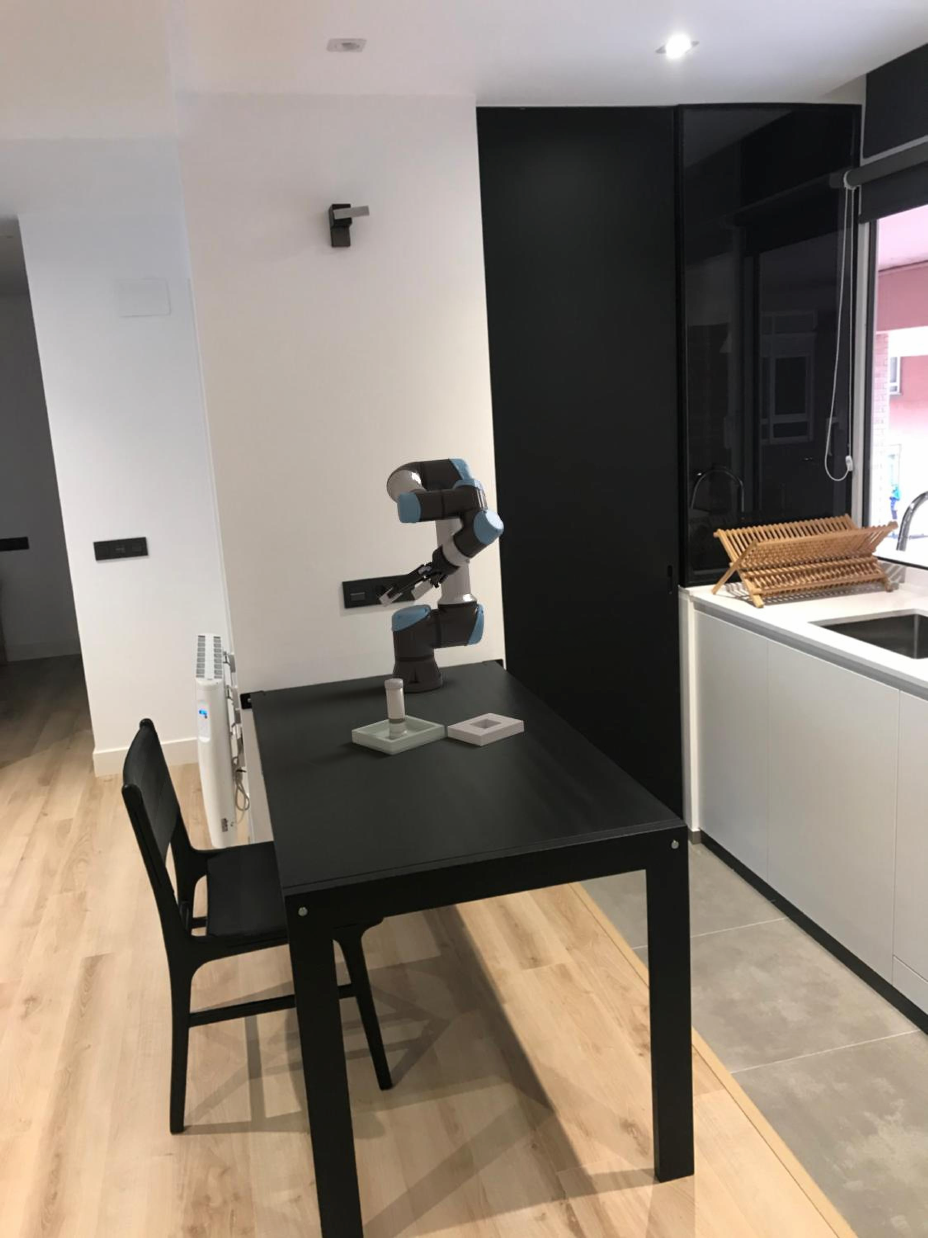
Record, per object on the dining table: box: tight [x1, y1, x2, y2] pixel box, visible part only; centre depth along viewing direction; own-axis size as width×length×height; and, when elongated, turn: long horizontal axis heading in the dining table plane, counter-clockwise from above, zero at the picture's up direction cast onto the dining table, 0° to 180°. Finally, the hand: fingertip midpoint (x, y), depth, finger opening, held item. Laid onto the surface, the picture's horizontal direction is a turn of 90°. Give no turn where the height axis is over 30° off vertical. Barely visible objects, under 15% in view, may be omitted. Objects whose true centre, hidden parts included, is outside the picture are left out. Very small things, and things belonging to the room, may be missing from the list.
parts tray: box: [351, 714, 446, 756], centre depth 244 cm, size 16×16×3 cm
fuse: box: [384, 678, 407, 739], centre depth 242 cm, size 4×4×14 cm
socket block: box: [446, 712, 525, 747], centre depth 243 cm, size 14×12×2 cm
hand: (398, 599), depth 262 cm, fingers open, 13 cm apart
